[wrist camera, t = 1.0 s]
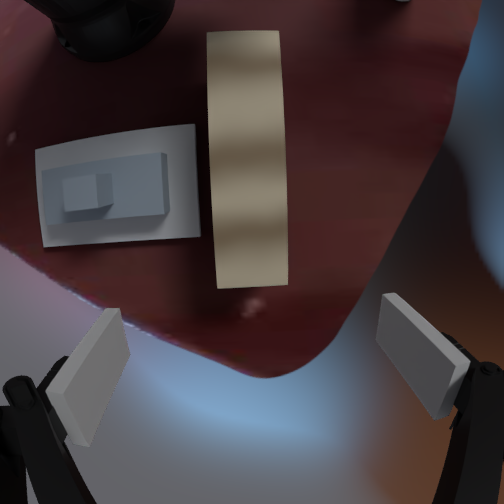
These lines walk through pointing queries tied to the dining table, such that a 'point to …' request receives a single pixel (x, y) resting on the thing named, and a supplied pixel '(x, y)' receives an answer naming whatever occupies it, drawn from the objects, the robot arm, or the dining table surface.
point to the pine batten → (247, 158)
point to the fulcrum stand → (119, 187)
